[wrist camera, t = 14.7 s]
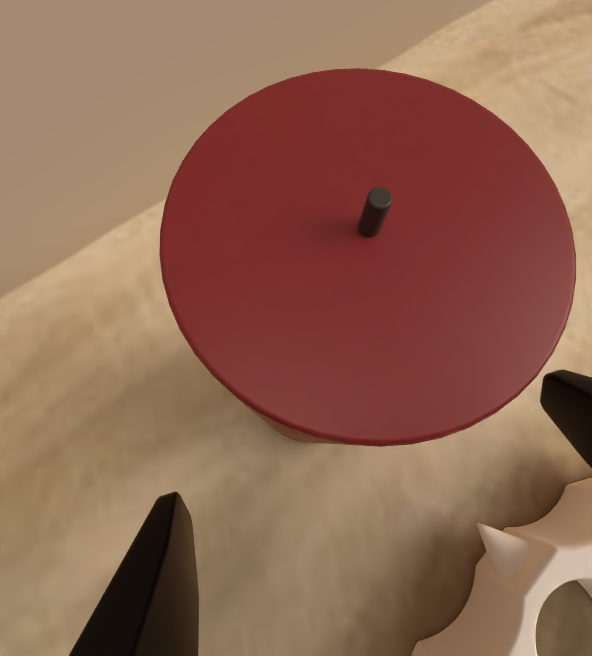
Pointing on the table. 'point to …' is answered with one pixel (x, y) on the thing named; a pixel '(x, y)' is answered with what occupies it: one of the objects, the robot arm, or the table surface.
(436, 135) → the candle
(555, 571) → the knuckle duster
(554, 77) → the table surface
